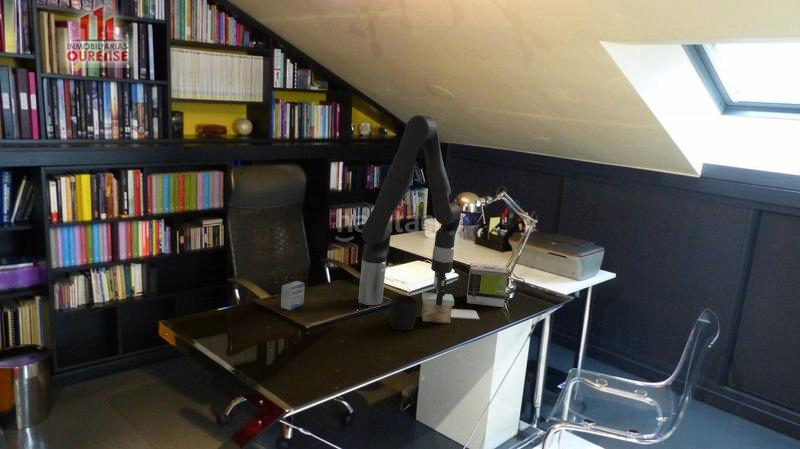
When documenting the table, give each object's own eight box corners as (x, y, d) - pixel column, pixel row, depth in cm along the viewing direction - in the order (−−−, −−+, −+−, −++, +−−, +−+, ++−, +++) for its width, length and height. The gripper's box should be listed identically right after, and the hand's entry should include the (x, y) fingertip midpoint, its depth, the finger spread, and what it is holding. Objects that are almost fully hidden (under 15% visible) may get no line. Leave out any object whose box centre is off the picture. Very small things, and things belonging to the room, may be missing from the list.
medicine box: (289, 310, 218) (291, 288, 216) (280, 307, 220) (281, 285, 218) (303, 304, 225) (305, 282, 223) (294, 301, 227) (295, 280, 225)
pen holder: (419, 325, 216) (422, 299, 214) (408, 333, 208) (411, 306, 206) (395, 318, 220) (398, 293, 218) (384, 327, 212) (386, 300, 209)
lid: (423, 306, 218) (424, 298, 217) (421, 300, 224) (422, 292, 223) (453, 308, 219) (454, 300, 218) (450, 302, 225) (451, 294, 224)
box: (422, 321, 220) (424, 303, 218) (421, 316, 225) (423, 298, 223) (449, 323, 221) (452, 305, 219) (448, 317, 226) (450, 300, 224)
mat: (447, 317, 226) (447, 316, 226) (445, 309, 234) (445, 308, 234) (479, 319, 227) (479, 318, 227) (475, 311, 235) (475, 310, 235)
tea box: (502, 299, 251) (507, 265, 248) (503, 308, 242) (508, 273, 238) (466, 295, 252) (470, 261, 249) (466, 303, 243) (470, 268, 239)
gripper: (430, 251, 224) (425, 294, 228) (434, 263, 210) (429, 308, 214) (450, 253, 225) (445, 295, 228) (455, 264, 211) (450, 309, 215)
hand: (437, 301), depth 221 cm, fingers closed on lid, 6 cm apart
